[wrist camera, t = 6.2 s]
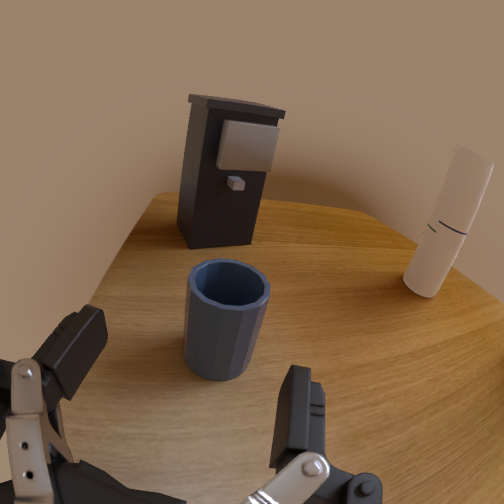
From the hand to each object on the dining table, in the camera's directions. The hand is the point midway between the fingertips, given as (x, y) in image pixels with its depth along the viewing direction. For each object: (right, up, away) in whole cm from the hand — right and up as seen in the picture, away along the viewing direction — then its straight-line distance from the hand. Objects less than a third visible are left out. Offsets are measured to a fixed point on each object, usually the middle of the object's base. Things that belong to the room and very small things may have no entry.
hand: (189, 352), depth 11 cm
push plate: (+1, +14, +26) cm, 29 cm away
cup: (-1, -6, +16) cm, 17 cm away
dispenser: (-4, +7, +37) cm, 38 cm away
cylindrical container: (+32, -2, +36) cm, 48 cm away
